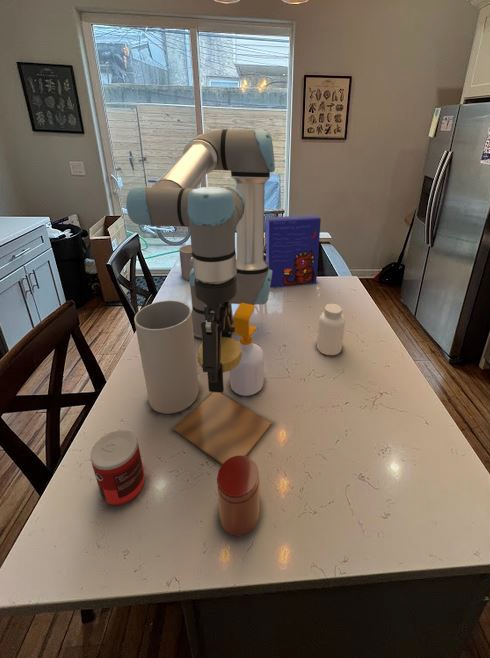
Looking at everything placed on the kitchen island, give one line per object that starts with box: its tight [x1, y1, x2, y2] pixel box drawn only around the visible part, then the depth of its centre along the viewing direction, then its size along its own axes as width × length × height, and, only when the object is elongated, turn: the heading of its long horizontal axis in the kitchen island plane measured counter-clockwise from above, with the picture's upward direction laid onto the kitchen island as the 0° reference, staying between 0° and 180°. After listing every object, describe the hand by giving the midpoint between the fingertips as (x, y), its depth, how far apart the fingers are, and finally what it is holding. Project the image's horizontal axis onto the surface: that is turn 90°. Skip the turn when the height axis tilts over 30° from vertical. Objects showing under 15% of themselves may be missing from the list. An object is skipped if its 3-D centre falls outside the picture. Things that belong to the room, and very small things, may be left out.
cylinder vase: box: [133, 299, 200, 415], centre depth 81 cm, size 12×12×25 cm
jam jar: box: [216, 456, 260, 537], centre depth 59 cm, size 7×7×11 cm
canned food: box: [90, 429, 146, 506], centre depth 63 cm, size 8×8×11 cm
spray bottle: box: [229, 303, 265, 397], centre depth 86 cm, size 9×9×25 cm
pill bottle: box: [316, 303, 346, 356], centre depth 102 cm, size 8×8×15 cm
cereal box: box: [265, 214, 322, 289], centre depth 141 cm, size 22×6×30 cm, turn 104°
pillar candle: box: [178, 244, 193, 282], centre depth 148 cm, size 10×10×15 cm
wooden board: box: [173, 392, 272, 466], centre depth 77 cm, size 18×14×1 cm
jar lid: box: [197, 337, 242, 374], centre depth 66 cm, size 9×9×2 cm
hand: (221, 373), depth 68 cm, fingers closed on jar lid, 8 cm apart
